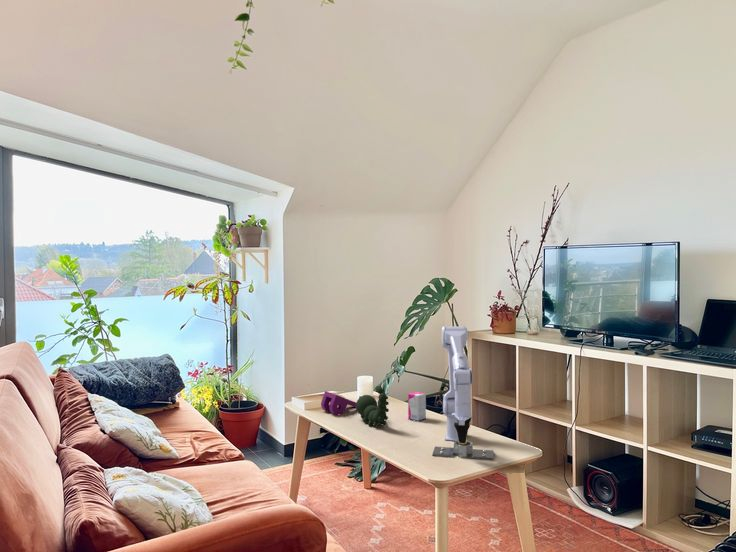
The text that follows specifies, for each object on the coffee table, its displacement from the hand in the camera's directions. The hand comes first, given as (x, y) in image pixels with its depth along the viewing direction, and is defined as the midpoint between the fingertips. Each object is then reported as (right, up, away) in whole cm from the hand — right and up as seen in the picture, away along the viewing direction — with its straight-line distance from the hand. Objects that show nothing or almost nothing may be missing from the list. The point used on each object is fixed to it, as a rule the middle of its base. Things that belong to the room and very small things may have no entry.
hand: (463, 439), depth 206 cm
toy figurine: (-33, -5, +40) cm, 52 cm away
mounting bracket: (-46, -5, +61) cm, 76 cm away
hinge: (0, -5, 0) cm, 5 cm away
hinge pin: (0, -5, 0) cm, 5 cm away
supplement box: (-13, -4, +45) cm, 47 cm away
